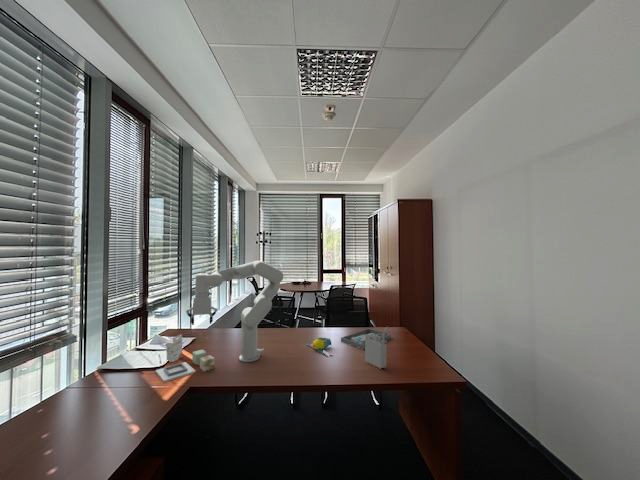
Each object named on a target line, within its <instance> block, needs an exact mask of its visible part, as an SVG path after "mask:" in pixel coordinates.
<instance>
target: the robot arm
mask: <svg viewBox="0 0 640 480" xmlns="http://www.w3.org/2000/svg"><path fill="white" fill-rule="evenodd" d="M283 273H284V272H282V271H281V270H280V269H278V268H276V267H273V266H271V265H270V264H268V263H266V262H264V261H262V260H254V261H251V262H247V263H244V264H240V265H236V266H232V267H228V268H224V269H221V270H216V271H213V272H212V273H211V274H208V273H197V274H196V275H195V282H194V283H195V289H194V290H195V294H194V297H193V302H192V307H189V308H188V309H186V310H185V313H186V314H187V316H188V317H189V318H190V324H191V325H192V326H193V325H195V316H196V315H197V316H198V315H199V316H200V315H209V325H211V324H212V322H213V319H214V316H215V315H216V314H217V311H218V308H217V307H214V306H212V297H211V295H212V294H213V293H212V292H210V287H220V286H221V285H222V284H223V283H224V282H226V281H231V280H244V279H247V278H250V277H253V276H259V277H262V278H263V279H265V280H267V282H266V285H264V287H263V289H261V291H260V293H258V295H257V296H255V298H254V299H253V304H254V305H253V306H251V307H250V306H249V307H245V308H244V309H243V310H242V312H241V315H240V319H241V321H240V322H241V354H240V355H239V357H238V359H239V361H240V362H243V363H252V362H255V361H257V360H259V359H260V357H261V356H260V355H261V353H264V352H265V348H258V325H259V324H260V323H261V322H262V321H263V319H264V318H265V317H266V316H267V314H268V313H269V312H270V310H271V309H272V306H273V302H272V300H273V299H274V297H275V296H276V295H277V294H278V292H279V290H280V286H281V282H282V281H283V280H284V274H283ZM212 310H213V312H212ZM191 311H192V313H191Z"/></svg>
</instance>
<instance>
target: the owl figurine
mask: <svg viewBox="0 0 640 480" xmlns="http://www.w3.org/2000/svg"><path fill="white" fill-rule="evenodd" d="M305 345H306V346H308V347H310V348H311V349H312V350H313V349H314V350H316V352H319V353H321V354H322V355H323V349H326V348H327V347H329V346H332V340H331V338H329V337H328V338H327V337H318V338H316V339H314V340H313V341H309V342H308V343H305Z"/></svg>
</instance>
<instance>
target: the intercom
mask: <svg viewBox="0 0 640 480" xmlns="http://www.w3.org/2000/svg"><path fill="white" fill-rule="evenodd" d="M366 334H367V333H366ZM366 334H363V335H360V336H357V337H353V338H351V339H350V340H351V341H354V342H357V343H360V344H363V345H364V344H365V335H366ZM375 335H378V336H379V335H383V334H375ZM384 336H385V335H384Z"/></svg>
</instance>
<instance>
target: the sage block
mask: <svg viewBox="0 0 640 480" xmlns="http://www.w3.org/2000/svg"><path fill="white" fill-rule="evenodd" d="M205 356H207V351H205V350H204V349H199V350H195V351H192V363H193V364H194V365H200V358H202V357H205Z"/></svg>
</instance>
